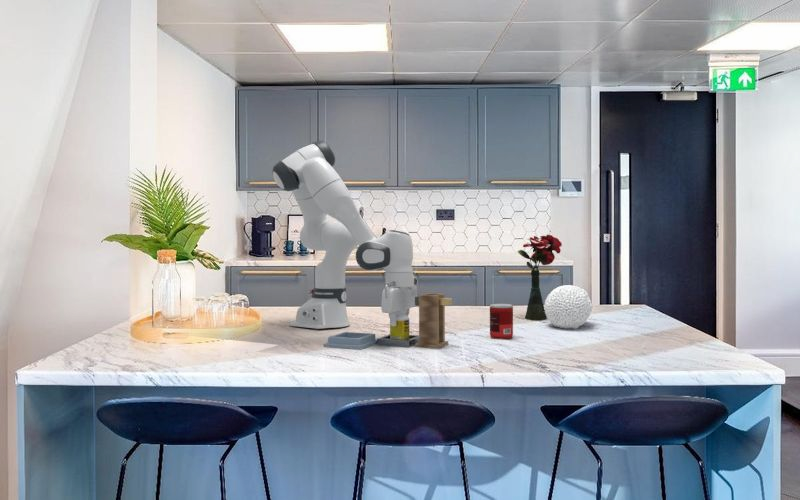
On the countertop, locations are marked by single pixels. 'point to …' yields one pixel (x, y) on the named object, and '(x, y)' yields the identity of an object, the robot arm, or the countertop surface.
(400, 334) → the pill bottle
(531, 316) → the carnation
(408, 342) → the socket
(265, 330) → the countertop surface
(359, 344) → the tray
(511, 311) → the canned food
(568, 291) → the white textured ball
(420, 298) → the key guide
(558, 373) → the countertop surface
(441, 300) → the bar
